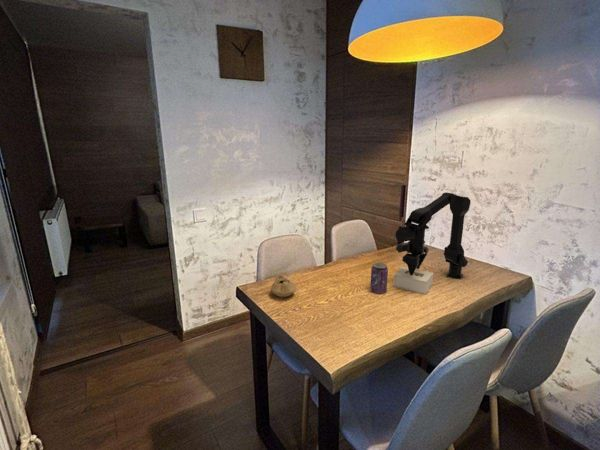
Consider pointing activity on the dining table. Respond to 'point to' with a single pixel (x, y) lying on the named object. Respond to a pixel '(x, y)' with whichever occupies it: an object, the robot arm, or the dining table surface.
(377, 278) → the beverage can
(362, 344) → the dining table surface
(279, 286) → the oil lamp
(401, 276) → the moneybox
